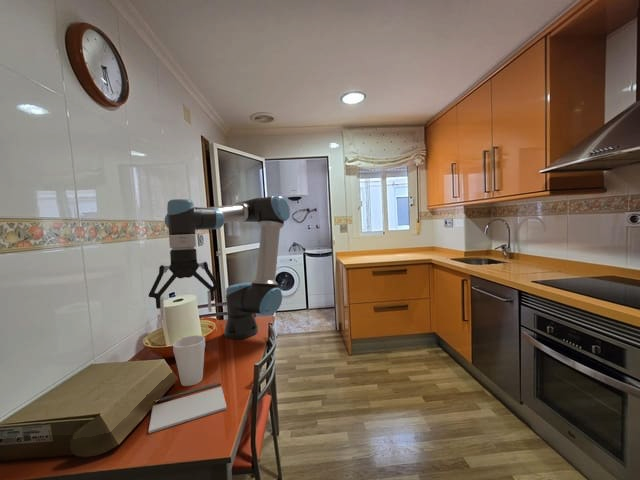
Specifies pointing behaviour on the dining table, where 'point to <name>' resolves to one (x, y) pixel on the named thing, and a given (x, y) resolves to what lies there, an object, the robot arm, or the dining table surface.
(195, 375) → the foam cup
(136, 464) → the dining table surface
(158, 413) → the mat
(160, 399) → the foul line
